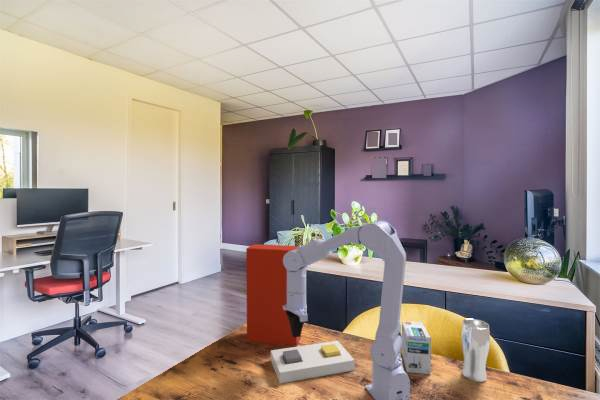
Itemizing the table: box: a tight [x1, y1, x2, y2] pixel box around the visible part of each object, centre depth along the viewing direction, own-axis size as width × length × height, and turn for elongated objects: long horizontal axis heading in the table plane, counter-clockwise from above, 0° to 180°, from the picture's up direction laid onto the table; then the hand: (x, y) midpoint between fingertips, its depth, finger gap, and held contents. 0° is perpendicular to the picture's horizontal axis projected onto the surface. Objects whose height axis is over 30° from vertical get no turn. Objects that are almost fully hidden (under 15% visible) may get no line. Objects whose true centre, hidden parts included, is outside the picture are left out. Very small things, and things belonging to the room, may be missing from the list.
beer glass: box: [460, 318, 491, 383], centre depth 89 cm, size 7×7×15 cm
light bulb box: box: [401, 320, 432, 375], centre depth 96 cm, size 11×7×11 cm, turn 171°
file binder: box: [245, 243, 302, 347], centre depth 110 cm, size 8×17×32 cm, turn 78°
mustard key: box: [321, 344, 340, 358], centre depth 96 cm, size 4×4×3 cm
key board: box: [270, 340, 356, 384], centre depth 95 cm, size 12×22×3 cm, turn 107°
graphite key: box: [283, 349, 301, 364], centre depth 93 cm, size 4×4×3 cm
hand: (296, 336), depth 94 cm, fingers closed
